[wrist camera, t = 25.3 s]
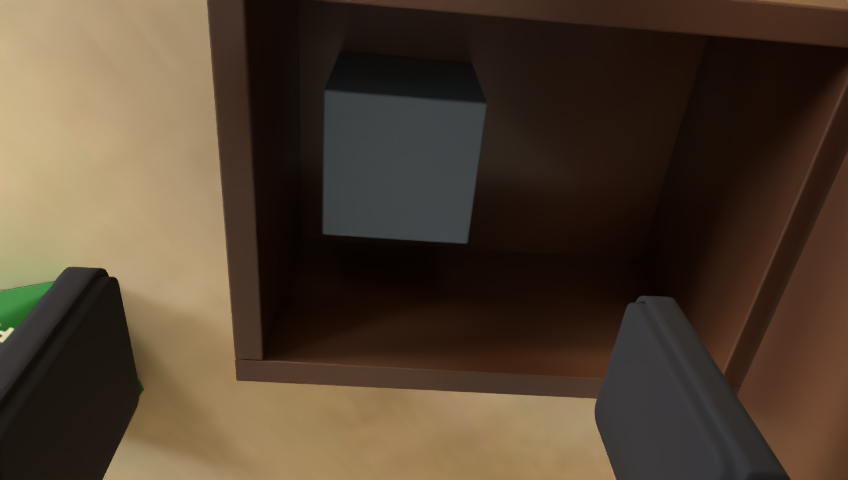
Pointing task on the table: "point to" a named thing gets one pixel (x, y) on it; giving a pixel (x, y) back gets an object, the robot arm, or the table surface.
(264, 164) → the chest
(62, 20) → the table surface
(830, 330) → the lid
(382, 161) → the block
